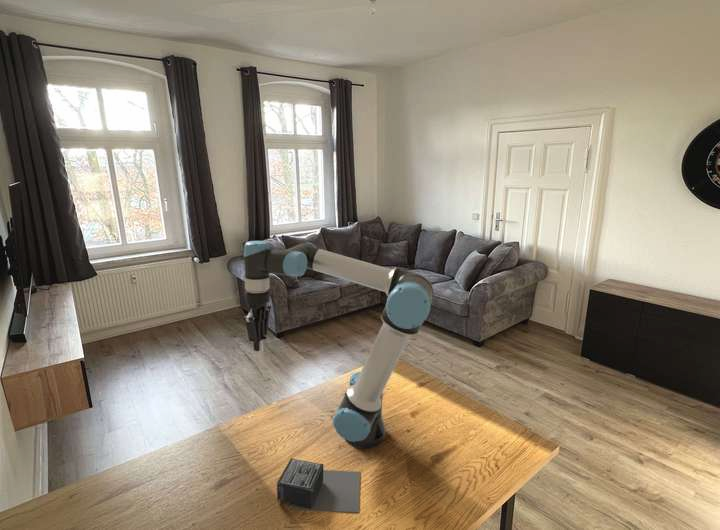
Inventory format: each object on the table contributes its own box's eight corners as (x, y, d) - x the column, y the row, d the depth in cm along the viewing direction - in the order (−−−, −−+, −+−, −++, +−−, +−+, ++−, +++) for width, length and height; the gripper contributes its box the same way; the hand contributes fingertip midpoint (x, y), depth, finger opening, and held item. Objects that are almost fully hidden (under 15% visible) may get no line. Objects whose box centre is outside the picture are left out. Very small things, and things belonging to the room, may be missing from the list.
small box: (276, 503, 109) (312, 510, 107) (275, 483, 108) (311, 490, 105) (291, 475, 119) (324, 481, 117) (290, 457, 118) (324, 463, 116)
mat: (360, 472, 122) (360, 471, 122) (358, 513, 107) (358, 512, 107) (299, 469, 122) (299, 468, 122) (290, 509, 107) (290, 508, 107)
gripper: (257, 283, 130) (259, 348, 136) (235, 294, 118) (237, 365, 123) (277, 285, 128) (278, 352, 134) (257, 297, 116) (258, 369, 121)
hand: (258, 358), depth 129 cm, fingers closed
